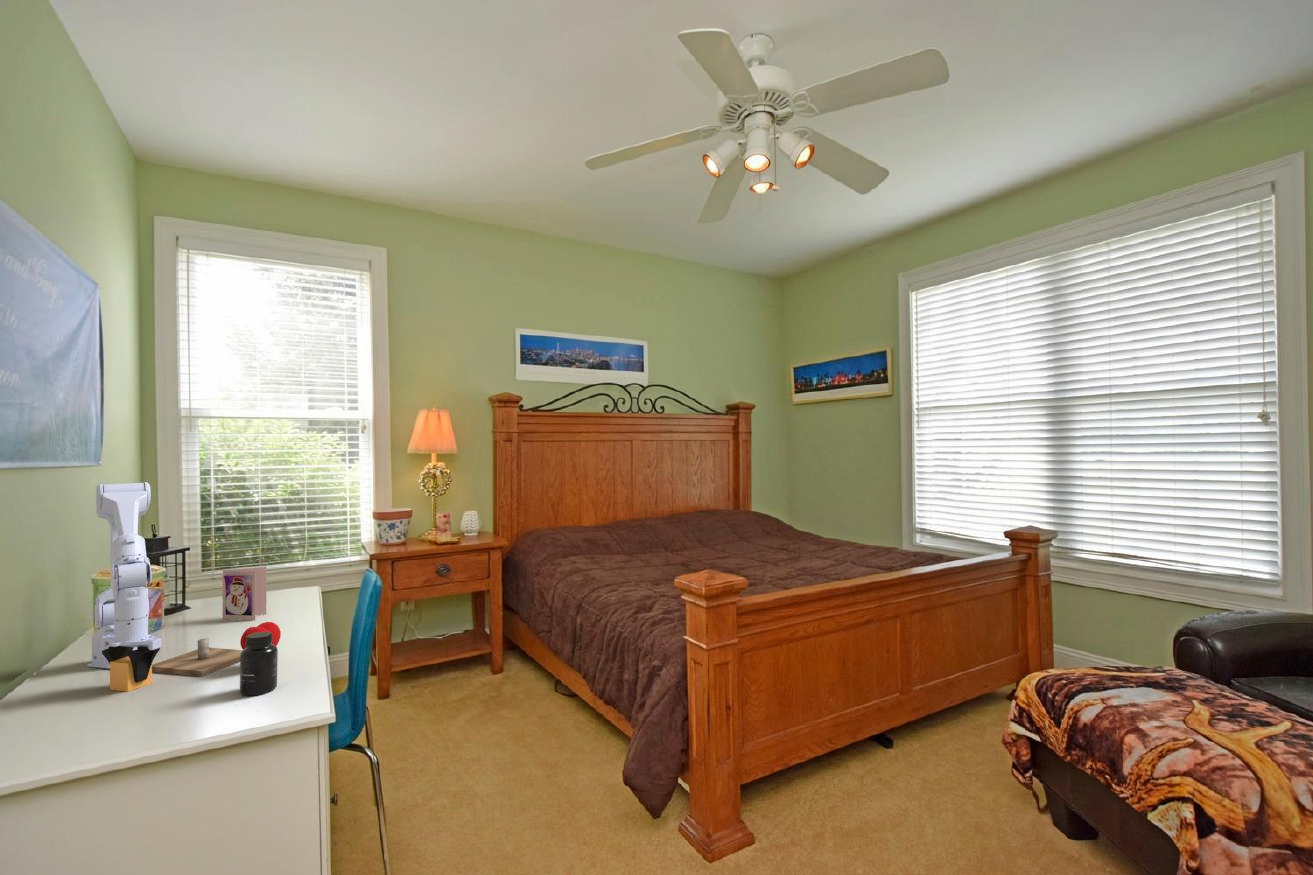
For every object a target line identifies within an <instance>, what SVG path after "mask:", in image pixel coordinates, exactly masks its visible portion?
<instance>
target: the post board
mask: <svg viewBox="0 0 1313 875" xmlns="http://www.w3.org/2000/svg"><path fill="white" fill-rule="evenodd" d="M242 651H243V649H235V648H234V649H232V648H220V647H210V639H209V638H208V637H207V638H200V639H198V640H197V649H195V650H191V651H188V652H185V653H182V654H180V655H177V656H174V657H171V658H168V659H165V660H162V661H159V662H156V663H152V673H153V672H154V673H163V674H172V675H183V676H192V675H193V676H195V677H204V676H208V675H209V674H212V673H215V672H218V671H220V670H222V669H226V668H228V667H230V666H232V665H236V664H238V663H239V664H240V654H241V652H242ZM193 676H192V677H193Z"/></svg>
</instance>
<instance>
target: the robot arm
mask: <svg viewBox="0 0 1313 875" xmlns="http://www.w3.org/2000/svg"><path fill="white" fill-rule="evenodd" d="M151 493H152V492H151V484H149V482H147V481H144V482H130V483H129V482H128V483H127V482H126V483H104V484H103V483H98V485H97V486H96V487H95V507H96V509H95V510H96V514H97V517H98V518H99V519H104V520H107V523H108V524H109V527H110V535H109V536H110V538H109V539H110V586H109V587H107V588H106V589H105V590H104V591H102V592H101V593H99V594H98V595H97V597H96V598H95V605H94V626H95V627H96V628H97V630H96V631H95V632H94V634H93V635H92V639H91V663H88V664H87V667H90V668H98V669H99V668H100V669H109V670H110V662H112V661H115V660H118V659H121V658H124V657H128V656H129V658H130V660H131V663H132V667H133V676H134V680H135V682H136V683H138V682H141V681H144V680H146V679H147V677H148V674H149V670H150V667H151V664H153V662H154V660H155V657H156V656H157V654H158V652H160V650H161V648H162V641H163V640H162V638H160V637H155V636H153V635H151V634H149V616H150V601H149V587H151V583H152V579H153V578H152V566H151V563H150V560H149V557H147V549H146V548H147V547H146V540H145V538H144V537H143V536H142V535H139V533H138V532H139V517H142V516H144V515H146V514H147V511H148V510H149V507H150V505H151V498H152V496H151V495H152V494H151Z"/></svg>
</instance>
